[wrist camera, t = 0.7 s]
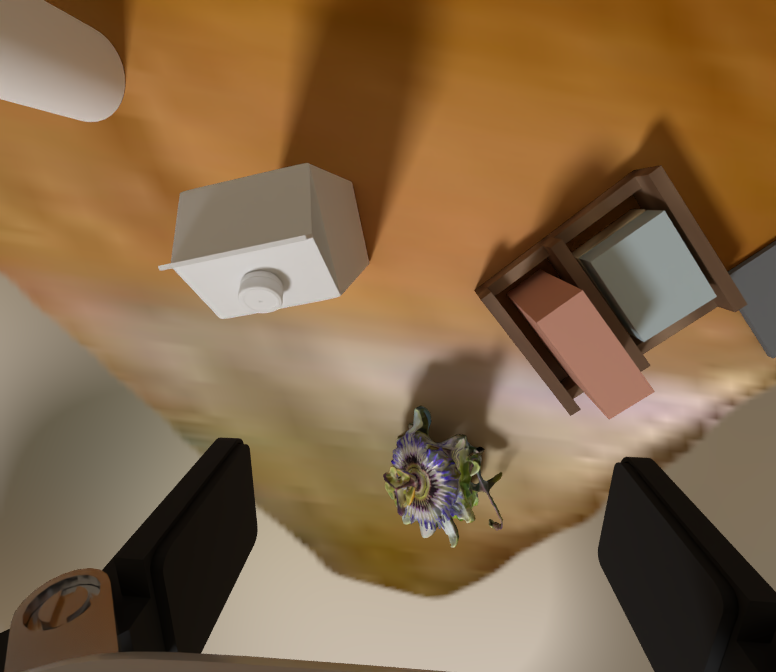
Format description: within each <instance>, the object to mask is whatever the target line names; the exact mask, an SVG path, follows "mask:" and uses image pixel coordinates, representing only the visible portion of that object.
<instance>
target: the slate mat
mask: <svg viewBox="0 0 776 672" xmlns="http://www.w3.org/2000/svg"><path fill="white" fill-rule="evenodd" d="M728 273H729V275H730V277H731V278H732V280H733V281H734V283H735V285H736V286H737V288H738V289H739V291H740V293H741V294H742V296H743V298H744V299H745V301H746V302H747V304H748V305H746V306H744V307H743V308H741V309H740V310H739V311H740V312H741V314H742V316H743V317H744V319H745V320H746V322H747V323H748V325H749V327H750V328H751V330H752V331H753V333H754V335H755V336H756V338H757V339H758V341H759V343H760V344H761V346H762V347H763V349H764V351H765V352H766V354H767V355H768V356H769V357H771V358H775V357H776V241H774V242H773V243H771V244H770V245H768V246H767V247H765V248H763V249H762V250H760V251H759V252H757V253H756V254H754V255H753V256H751V257H750V258H748V259H747V260H745V261H744V262H742V263H741V264H739V265H738V266H736V267H734V268H733V269H731V270H730V271H728Z"/></svg>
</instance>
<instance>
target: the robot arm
mask: <svg viewBox="0 0 776 672" xmlns="http://www.w3.org/2000/svg"><path fill="white" fill-rule="evenodd" d="M256 537H257V518H256V508H255V498H254V487H253V477H252V467H251V457H250V448H249V446H248V445H247V444H243V441H242V439H239V438H218V439H216V440H215V442H214V443H213V444H212V445H211V446H210V447H209V448H208V450H207V451H206V452H205V453H204V454H203V455H202V457H201V458H200V459H199V460H198V461H197V462H196V463H195V465H194V466H193V467H192V468H191V469H190V470H189V471H188V473H187V474H186V475H185V476H184V477H183V478H182V479H181V481H180V482H179V483H178V484H177V485H176V486H175V488H174V489H173V490H172V491H171V492H170V493H169V494H168V495H167V496H166V498H165V499H164V500H163V501H162V502H161V503H160V504H159V506H158V507H157V508H156V509H155V510H154V511H153V512H152V514H151V515H150V516H149V517H148V518H147V519H146V520H145V522H144V523H143V524H142V525H141V526H140V527H139V528H138V530H137V531H136V532H135V533H134V534H133V535H132V536H131V538H130V539H129V540H128V541H127V542H126V543H125V545H124V546H123V547H122V548H121V549H120V551H118V553H117V554H116V555H115V556H114V557H113V558H112V559H111V561H110V562H109V563H108V564H107V565H106V566H105V567H104V569H103V570H99V569H93V568H87V569H78V570H74V571H71V572H68V573H65V574H62V575H60V576H58V577H56V578H54V579H52V580H49V581H48V582H46V583H45V584H43V585H42V586H40V587H39V588H37V589H36V590H34V591H33V592H32V593H31V594H30V595H29V596H28V597H27V598H26V599H25V600H23V602H22V603H21V605H20V606H19V607H18V608H17V610H16V611H15V613H14V615H13V618H12V621H11V625H10V629H8V630H6V631H4V632H2V633H0V672H445V671H433V670H421V669H407V668H396V667H383V666H371V665H358V664H357V665H356V664H344V663H331V662H318V661H303V660H290V659H277V658H264V657H250V656H233V655H217V654H201V652H202V650H203V648H204V646H205V644H206V642H207V640H208V638H209V636H210V634H211V632H212V630H213V627H214V625H215V624H216V622H217V619H218V617H219V615H220V613H221V611H222V609H223V607H224V605H225V603H226V601H227V599H228V597H229V595H230V593H231V591H232V589H233V587H234V585H235V583H236V581H237V578H238V577H239V574H240V572H241V570H242V568H243V566H244V564H245V562H246V560H247V558H248V556H249V554H250V552H251V550H252V548H253V546H254V543H255V541H256ZM598 558H599V562H600V565H601V567H602V569H603V571H604V573H605V575H606V577H607V579H608V581H609V583H610V585H611V587H612V589H613V591H614V593H615V594H616V597H617V599H618V601H619V603H620V605H621V606H622V608H623V611H624V612H625V614H626V616H627V618H628V620H629V622H630V624H631V626H632V628H633V630H634V632H635V634H636V636H637V638H638V640H639V642H640V644H641V646H642V648H643V650H644V652H645V654H646V656H647V658H648V660H649V661H650V664H651V666H652V668H653V670H654V671H655V672H776V592H775V591H774V590H773V589H772V587H771V586H769V584H768V583H767V582H766V581H765V580H764V579H763V578H762V577H761V576H760V575H759V573H758V572H757V571H756V570H755V569H754V568H753V567H752V566H751V565H750V564H749V563H748V562H747V561H746V560H745V558H744V557H743V556H742V555H741V554H740V553H739V552H738V551H737V550H736V549H735V548H734V547H733V546H732V544H730V542H729V541H728V540H727V539H726V538H725V537H724V536H723V535H722V534H721V533H720V532H719V530H718V529H717V528H716V527H715V526H714V525H713V524H712V523H711V522H710V521H709V520H708V519H707V517H706V516H705V515H704V514H703V513H702V512H701V511H700V510H699V509H698V508H697V507H696V506H695V505H694V503H693V502H692V501H691V500H690V499H689V498H688V497H687V496H686V495H685V494H684V493H683V492H682V491H681V489H679V487H678V486H677V485H676V484H675V483H674V482H673V481H672V480H671V479H670V478H669V477H668V475H667V474H666V473H665V472H664V471H663V470H662V469H661V468H660V467H659V466H658V465H657V464H656V463H655V461H653V460H652V459H650V458H638V457H625V458H623V459H622V461H621V463H616V464H615V466H614V470H613V475H612V480H611V485H610V490H609V496H608V501H607V506H606V511H605V516H604V521H603V526H602V531H601V536H600V542H599V547H598Z"/></svg>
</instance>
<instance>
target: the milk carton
mask: <svg viewBox="0 0 776 672" xmlns="http://www.w3.org/2000/svg"><path fill="white" fill-rule="evenodd" d="M368 265H369V259H368V254H367V250H366V245H365V240H364V236H363V231H362V226H361V222H360V217H359V212H358V208H357V203H356V198H355V194H354V189H353V184H352V182H351V181H349V180H346V179H344V178H342V177H339V176H337V175H335V174H332V173H330V172H328V171H325V170H323V169H321V168H318V167H316V166H314V165H311V164H309V163H304V164H299V165H294V166H290V167H286V168H281V169H277V170H273V171H268V172H264V173H260V174H256V175H251V176H247V177H243V178H238V179H234V180H230V181H226V182H221V183H217V184H213V185H208V186H204V187H200V188H196V189H192V190H188V191H184V192H181V193H180V198H179V205H178V213H177V221H176V228H175V236H174V243H173V251H172V259H171V264H166V265H161V266H158V267H159V270H161V271H162V270H166V269H171V268H173V269H174V270H175V271H176V272H177V273H178V274H179V275H180V276H181V278H182V279H183V280H184V281H185V282H186V283H187V284H188V285H189V286H190V287H191V288H192V289H193V290H194V291H195V292H196V293H197V295H198V296H199V297H200V298H201V299H202V300H203V301H204V302H205V303H206V304H207V305H208V306H209V307H210V308H211V309H212V311H213V312H214V313H215V314H216V315H217V316H218V317H219V318H222V319H226V318H233V317H239V316H244V315H249V314H255V313H269V312H273V311H276V310H277V309H281V308H286V307H291V306H296V305H302V304H307V303H312V302H317V301H322V300H327V299H332V298H336V297H339V296H341V295H342V294H343V293H344V292H345V291H346V289H347V288H348V287H349V286H350V285H351V284H352V283H353V282H354V280H355V279H356V278H357V277H358V276H359V275H360V274H361V272H362V271H363V270H364V269H365V268H366V267H367V266H368Z"/></svg>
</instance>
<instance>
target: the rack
mask: <svg viewBox="0 0 776 672" xmlns="http://www.w3.org/2000/svg"><path fill="white" fill-rule="evenodd" d="M632 194H633V196H634V197H635V199H636V200H637V202H638V204H639V205H640V207H641V208H642V209H645V211H646V210H663V211H665V212H666V214H667V215H668V217H669V219H670V220H671V222H672V223H673V225H674V227H675V228H676V230H677V232H678V233H679V235H680V237H681V238H682V240H683V242H684V243H685V245H686V247H687V248H688V250H689V251H690V253H691V255H692V256H693V258H694V260H695V261H696V263H697V265H698V266H699V268H700V270H701V271H702V273H703V275H704V276H705V278H706V279H707V281H708V283H709V284H710V286H711V288H712V289H713V291H714V293H715V294H716V296H717V297H715V298H714V299H712V300H711V301H709V302H707V303H706V304H704V305H703V306H701V307H699V308H698V309H696V310H695V311H693V312H691V313H690V314H688V315H687V316H685V317H683V318H682V319H680V320H678V321H677V322H675V323H674V324H672V325H670V326H669V327H667V328H666V329H664V330H662V331H661V332H659V333H658V334H656V335H654V336H653V337H651V338H650V339H648V340H646V341H645V342H643V341H641V340H640V339H638V338H636V337H635V336H633V335H631V336H629V334H628V333H627V331H626V330H625V329H624V327H623V326H622V324H621V323H620V321H619V320H618V319H617V317H616V316H615V314H614V313H613V311H612V310H611V309H610V307H609V306H608V304H607V303H606V301H605V300H604V299H603V297H602V296H601V294H600V293H599V291H598V290H597V289H596V287H595V286H594V284H593V283H592V282H591V280H590V279H589V277H588V276H587V274H586V273H585V272H584V270H583V269H582V267H581V266H580V264H579V263H578V262H577V260H576V259H575V257H574V256H573V254H572V253H571V252H570V250H569V249H568V247H567V246H566V243H567V242H569V241H570V240H572V239H573V238H574V237H576V236H577V235H578V234H580V233H581V232H582V231H584V230H585V229H586V228H588V227H589V226H590V225H592V224H593V223H594V222H596V221H597V220H599V219H600V218H601V217H603V216H604V215H605V214H607V213H608V212H609V211H611V210H612V209H613V208H615V207H616V206H617V205H619V204H620V203H621V202H623V201H624V200H626V199H627V198H628V197H630V196H631V195H632ZM546 258H547V259H548V261H549V262H550V263H551V265H552V266H553V268H554V269H555V270H556V272H557V273H558V275H559V276H560V277H561V279H562V280H563V281H565V282H567V283H569V284H571V285H573V286H575V287H577V288H579V289H581V290H583V291H584V293H585V294H586V296H587V297H588V298H589V300H590V301H591V303H592V304H593V305H594V307H595V308H596V310H597V311H598V313H599V314H600V315H601V317H602V318H603V320H604V321H605V322H606V324H607V325H608V327H609V328H610V329H611V331H612V332H613V334H614V335H615V336H616V338H617V339H618V341H619V342H620V343H621V345H622V346H623V348H624V349H625V350H626V352H627V353H628V355H629V356H630V358H631V359H632V360H633V362H634V363H635V365H636V366H637V367H638V369H639V370H640V372H641V371H643V370H644V369H646V368H647V367H649V366H650V364H649V363H648V361H647V360H646V358H645V357H644V356H643V354H644V353H646V352H647V351H649V350H650V349H652V348H654V347H655V346H657V345H658V344H660V343H661V342H663V341H665V340H666V339H668V338H669V337H671V336H672V335H674V334H676V333H677V332H679V331H680V330H682V329H683V328H685V327H686V326H688V325H690V324H691V323H693V322H694V321H696V320H697V319H699V318H701V317H702V316H704V315H705V314H707V313H708V312H710V311H712V310H713V309H715V308H716V307H721V308H724V309H727V310H730V311H733V312H736V311H738V310H740V309H741V308H743V307H744V306H746V305H748V304H747V302H746V301H745V299H744V298H743V296H742V294H741V293H740V291H739V289H738V288H737V286H736V285H735V283H734V281H733V280H732V278H731V277H730V275H729V273H728V272H727V270H726V269H725V267H724V265H723V264H722V262H721V261H720V259H719V257H718V256H717V254H716V253H715V251H714V249H713V248H712V246H711V244H710V243H709V241H708V240H707V238H706V236H705V235H704V233H703V232H702V230H701V228H700V227H699V225H698V224H697V222H696V220H695V219H694V217H693V216H692V214H691V212H690V211H689V209H688V208H687V206H686V204H685V203H684V201H683V199H682V198H681V196H680V195H679V193H678V191H677V190H676V188H675V187H674V185H673V183H672V182H671V180H670V179H669V177H668V175H667V174H666V172H665V171H664V169H663V167H662V166H655V167H650V168H644V169H639V170H634V171H632V172H631V173H630V174H628V175H627V176H626V177H624V178H623V179H622V180H620V181H619V182H618V183H616V184H615V185H614V186H612V187H611V188H610V189H608V190H607V191H606V192H604V193H603V194H602V195H600V196H599V197H598V198H596V199H595V200H594V201H592V202H591V203H590V204H589V205H587V206H586V207H585V208H583V209H582V210H581V211H579V212H578V213H577V214H575V215H574V216H573V217H571V218H570V219H569V220H567V221H566V222H565V223H563V224H562V225H561V226H559V227H558V228H557V229H555V230H554V231H553V232H551V233H550V234H549V235H547V236H546V237H545V238H543V239H542V240H541V241H539V242H538V243H537V244H536V245H534V246H533V247H532V248H530V249H529V250H528V251H526V252H525V253H524V254H522V255H521V256H520V257H518V258H517V259H516V260H514V261H513V262H512V263H510V264H509V265H508V266H506V267H505V268H504V269H502V270H501V271H500V272H498V273H497V274H496V275H494V276H493V277H492V278H490V279H489V280H488V281H487V282H485V283H484V284H483V285H481V286H480V287H479V288H477V289H476V290H475V292H476V294H477V295H478V296H479V298H480V299H481V301H482V302H483V303H484V304H485V306H486V307H487V308H488V310H489V311H490V312H491V313H492V315H493V316H494V317H495V319H496V320H497V321H498V323H499V324H500V325H501V326H502V328H503V329H504V330H505V332H506V333H507V334H508V335H509V337H510V338H511V339H512V341H513V342H514V343H515V345H516V346H517V347H518V348H519V350H520V351H521V352H522V354H523V355H524V356H525V357H526V359H527V360H528V361H529V363H530V364H531V365H532V367H533V368H534V369H535V370H536V372H537V373H538V374H539V376H540V377H541V378H542V380H543V381H544V382H545V383H546V385H547V386H548V387H549V389H550V390H551V391H552V392H553V394H554V395H555V396H556V398H557V399H558V400H559V402H560V403H561V404H562V405H563V407H564V408H565V409H566V411H567V412H568V413H569V414H570V416H571V415H573V414H574V413H576V412H578V411H579V410H581V409H580V408H579V406H578V405H577V404H576V403H575V401H574V400H573V399H574V398H575V397H577V396H578V395H580V394H582V393H583V390H582V389H581V388H580V387H579V386H578V385H577V384H576V383H575V382H574V381H573V380H572V378H571V377H570V376H568V377H567V378H565V379H564V380H562V381H561V382H559V380H558V379H557V378H556V376H555V375H554V374H553V372H552V371H551V370H550V368H549V367H548V366H547V365H546V363H545V362H544V361H543V359H542V358H541V357H540V355H539V354H538V353H537V351H536V350H535V349H534V347H533V346H532V345H531V344H530V342H529V341H528V340H527V338H526V337H525V336H524V334H523V333H522V332H521V330H520V329H519V328H518V326H517V325H516V324H515V323H514V321H513V320H512V319H511V317H510V316H509V315H508V313H507V312H506V311H505V309H504V308H503V307H502V306H501V304H500V303H499V302H498V300H497V299H496V298H495V296H496V295H497V294H499V293H500V292H501V291H503V290H504V289H505V288H507V287H508V286H509V285H511V284H512V283H513V282H515V281H516V280H518V279H519V278H520V277H522V276H523V275H524V274H526V273H527V272H528V271H530V270H531V269H532V268H534V267H535V266H536V265H538V264H539V263H540V262H542V261H543V260H545V259H546Z"/></svg>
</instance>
